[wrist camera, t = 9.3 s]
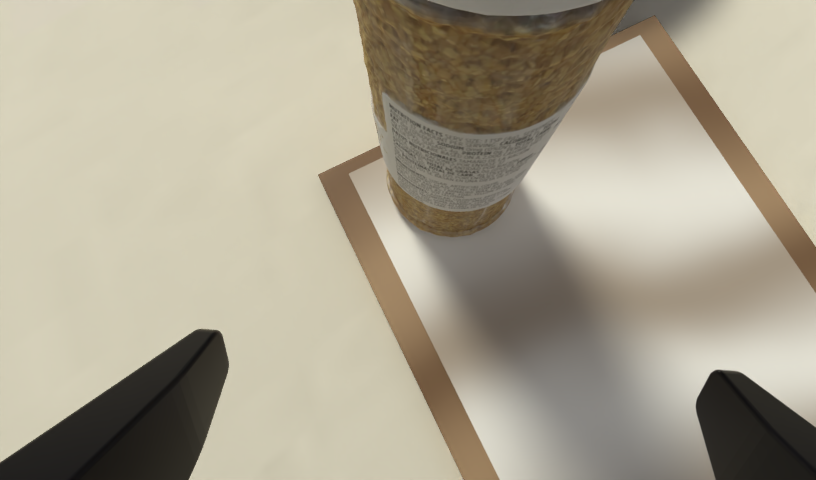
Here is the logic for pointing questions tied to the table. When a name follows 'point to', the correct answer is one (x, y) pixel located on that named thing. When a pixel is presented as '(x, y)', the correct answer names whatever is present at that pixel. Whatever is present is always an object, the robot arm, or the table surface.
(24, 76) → the table surface
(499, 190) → the sprinkles bottle
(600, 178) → the clipboard
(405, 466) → the table surface
